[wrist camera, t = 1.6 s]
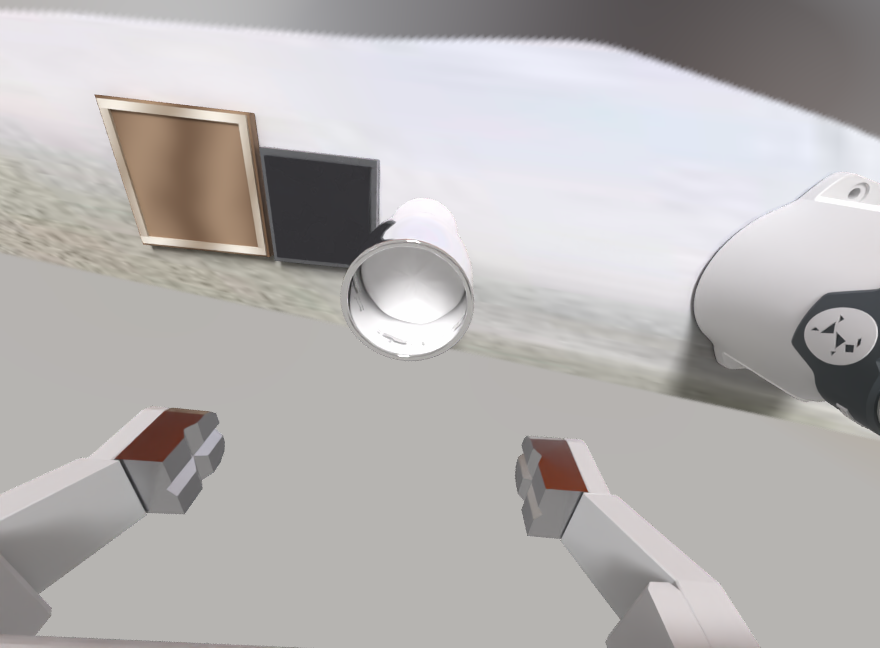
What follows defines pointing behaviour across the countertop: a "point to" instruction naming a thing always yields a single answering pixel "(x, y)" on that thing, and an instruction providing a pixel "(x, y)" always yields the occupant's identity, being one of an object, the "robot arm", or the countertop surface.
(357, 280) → the beer glass
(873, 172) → the countertop surface
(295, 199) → the ink pad
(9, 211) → the countertop surface
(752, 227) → the robot arm
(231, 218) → the board
